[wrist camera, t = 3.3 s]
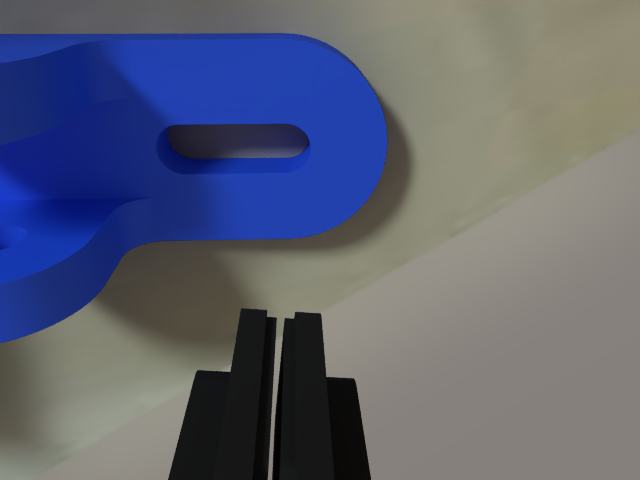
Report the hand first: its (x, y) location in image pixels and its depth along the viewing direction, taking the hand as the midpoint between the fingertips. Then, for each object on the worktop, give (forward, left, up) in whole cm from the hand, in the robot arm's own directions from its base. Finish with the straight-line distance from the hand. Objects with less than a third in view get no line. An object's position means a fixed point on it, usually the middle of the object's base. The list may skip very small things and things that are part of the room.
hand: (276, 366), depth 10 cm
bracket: (+5, -1, -14) cm, 14 cm away
